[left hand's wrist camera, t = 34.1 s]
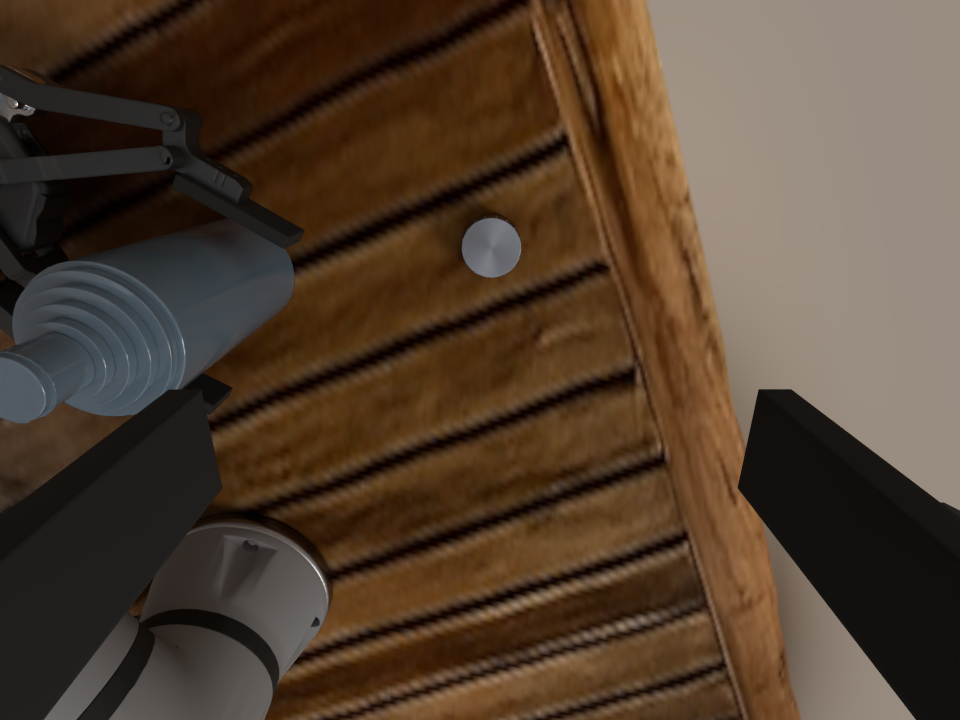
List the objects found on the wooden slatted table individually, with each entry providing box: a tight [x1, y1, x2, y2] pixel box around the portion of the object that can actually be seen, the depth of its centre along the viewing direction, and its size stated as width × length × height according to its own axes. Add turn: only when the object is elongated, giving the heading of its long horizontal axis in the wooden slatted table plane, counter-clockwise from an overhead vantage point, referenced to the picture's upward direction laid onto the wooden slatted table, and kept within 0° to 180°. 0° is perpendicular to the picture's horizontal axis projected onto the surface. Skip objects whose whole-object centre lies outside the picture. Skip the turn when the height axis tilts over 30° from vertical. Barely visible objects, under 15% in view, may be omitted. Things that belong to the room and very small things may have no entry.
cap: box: [461, 214, 521, 277], centre depth 36 cm, size 4×4×2 cm
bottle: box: [0, 218, 294, 423], centre depth 29 cm, size 8×8×20 cm
